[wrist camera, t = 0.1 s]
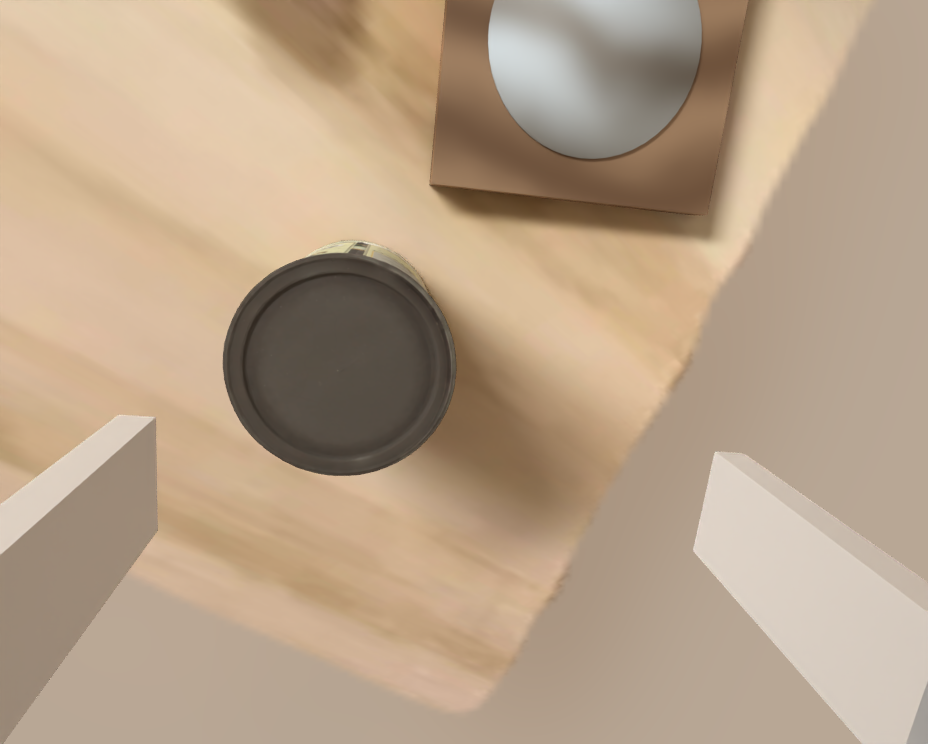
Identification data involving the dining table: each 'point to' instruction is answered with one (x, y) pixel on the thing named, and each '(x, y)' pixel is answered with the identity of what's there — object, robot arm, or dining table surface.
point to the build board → (586, 99)
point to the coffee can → (340, 360)
